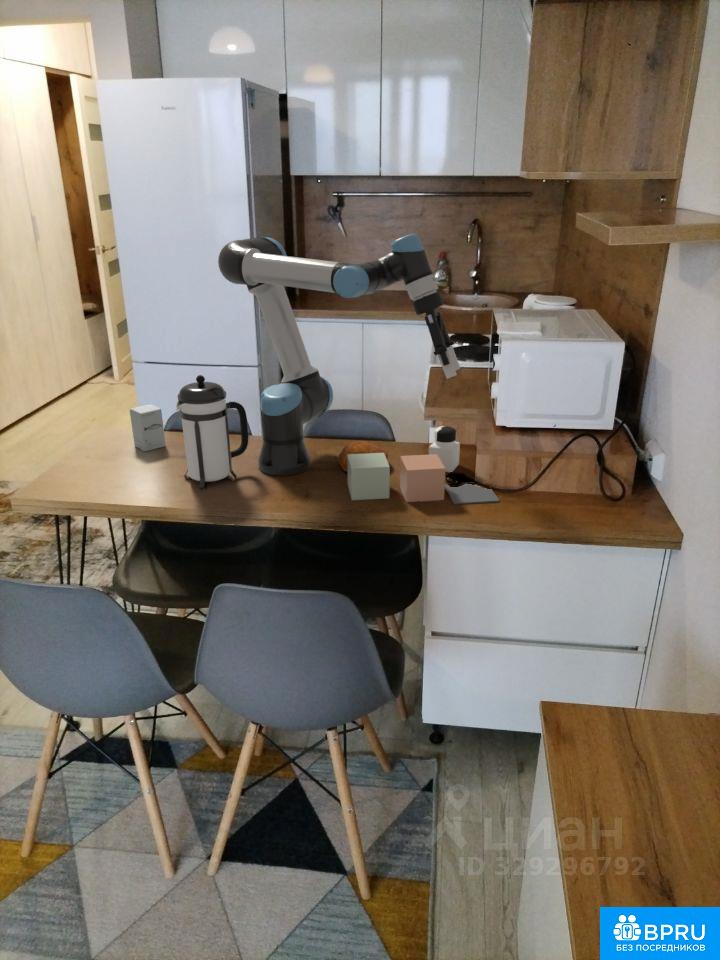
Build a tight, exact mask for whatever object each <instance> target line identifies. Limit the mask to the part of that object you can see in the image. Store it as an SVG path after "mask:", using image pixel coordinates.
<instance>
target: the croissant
mask: <svg viewBox="0 0 720 960" xmlns="http://www.w3.org/2000/svg"><path fill="white" fill-rule="evenodd" d="M367 453H384V454H385V456H386V459H387V461H388V460H389V459H388V457H389V454H388V452H387V451H386V450H385V448H384V449H383V448H382V447H380V446H379V445H376V444H374V443H371V442H370V441H366V440H364V441H363V440H361V441H360V440H356V441H354V442H350V443H348V444H347V445H346V446H344V447H343V449H342V450H341V451H340V453H339V454H338V464H339V465H340V467H341V468H342V470H344V472H346V473H348V464H347V454H367ZM388 462H389V461H388Z"/></svg>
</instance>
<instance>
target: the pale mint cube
mask: <svg viewBox="0 0 720 960" xmlns="http://www.w3.org/2000/svg"><path fill="white" fill-rule="evenodd" d="M387 459H388V458H387ZM387 459H386V456H385V454H384V453H367V454H347V464H348V472H347V486H348V491H349V496H350V499H351V501H360V500H361V501H365V500H380V499H382V500H383V499H390V482H391V481H390V479H391V478H390V475H391V474H390V470H391V469H390V464H389V461H387Z"/></svg>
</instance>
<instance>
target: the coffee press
mask: <svg viewBox="0 0 720 960" xmlns="http://www.w3.org/2000/svg"><path fill="white" fill-rule="evenodd" d="M195 378H196V379H195V380H196V382H192V383H188V384H186V385H184V386H183V387H181V388H180V389H179V392H178V394H177V396H176V397H177V401H176V405H175V407H174V408H175V410H176V411H179V416H180V418H181V425H182V426H181V427H182V433H183V441H184V448H185V449H184V451H185V458H186V459H185V460H186V466H187V469H186V472H185V474H184V476H183V477H184V479H185V480H189V479H192V480H195V481H197V482H199V486H198V487H199V490H206V488H207V484H208V482H209V483H211V482H216V481H220V480H223V479H225V478H228V479H229V480H230V481H231V482H235V481H236V479H237V478H238V476H237V475H236V473H235V472H234V471H233V466H232V465H233V464H232V462H233V461H232V459H234V458H236V457H238V456H241V455H242V454H244V453H245V451H246V450H247V449H248V444H249V430H248V418H247V412H246V410H245V407H244V406H243V405H242V404H241V403H239V402H238V401H237V402H236V401H229V402H226V398H227V392H226V390H225V389H224V387H223V386H222V385H221V384H219V383H216V382H213V381H212V382H211V381H206V377H205V376H204V375H202V374H201V375H200V374H199V375H197V377H195ZM228 409H236V411H237V412H238V414H239V426H240V439H241V442H240V445H239V447H238V448H237V449H234V450H232V451H231V443H230V432H229V430H230V429H229V423H228V422H229V421H228ZM187 474H188V475H187ZM230 474H231V475H232V476H233V477H234V478H233V477H232V476H231V475H230Z"/></svg>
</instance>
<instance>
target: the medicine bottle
mask: <svg viewBox="0 0 720 960" xmlns="http://www.w3.org/2000/svg"><path fill="white" fill-rule="evenodd" d="M456 434H457V430H456V428H454V427H452V426H448V425H441V426H438V427H435V429H434V435H433V436H434V439H433V440H434V442H433V443H431V445H429V447H428V455H430V454H437V455H438V457H439V458H440V460H441V462H442V463H443V465H444V467H445V473H450V472H452V473H453V472H454V471H455V470H456V468H457V467H458V466H459V464H460V450H461V447H460V446H461V442H460V441H456V438H457V437H456V436H457V435H456ZM450 474H451V473H450Z"/></svg>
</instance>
